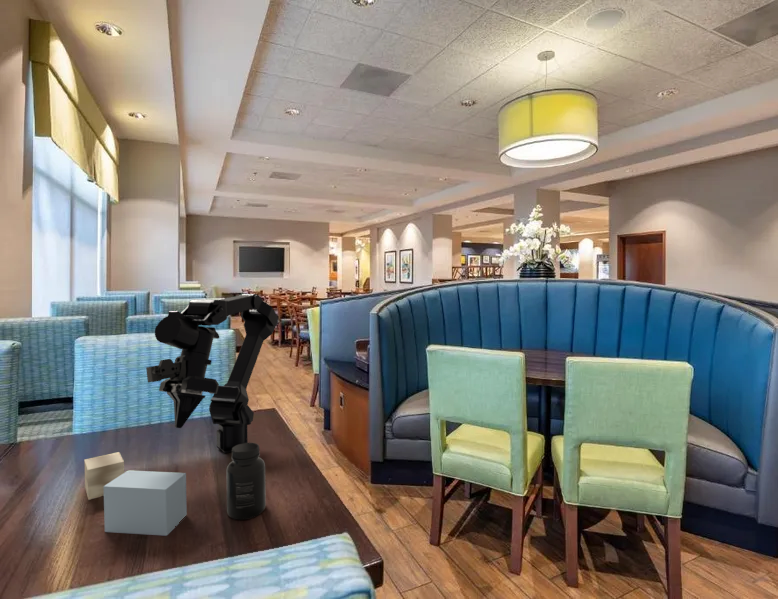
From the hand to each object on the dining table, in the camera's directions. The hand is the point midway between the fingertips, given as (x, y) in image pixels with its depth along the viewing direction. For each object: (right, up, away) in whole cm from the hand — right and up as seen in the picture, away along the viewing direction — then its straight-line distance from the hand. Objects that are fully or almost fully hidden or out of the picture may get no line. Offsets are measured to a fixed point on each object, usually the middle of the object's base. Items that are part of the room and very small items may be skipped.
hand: (178, 427), depth 89 cm
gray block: (+1, -13, -14) cm, 19 cm away
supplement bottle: (+17, -13, -10) cm, 24 cm away
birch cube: (-14, -12, -2) cm, 18 cm away
